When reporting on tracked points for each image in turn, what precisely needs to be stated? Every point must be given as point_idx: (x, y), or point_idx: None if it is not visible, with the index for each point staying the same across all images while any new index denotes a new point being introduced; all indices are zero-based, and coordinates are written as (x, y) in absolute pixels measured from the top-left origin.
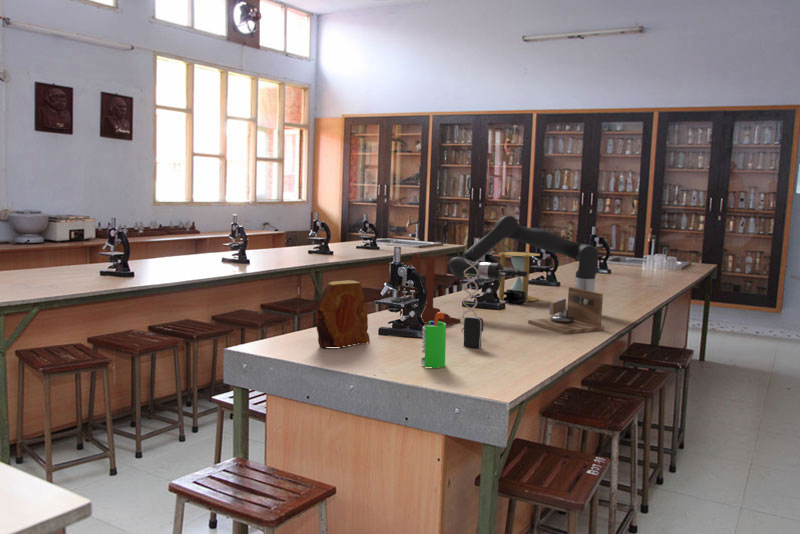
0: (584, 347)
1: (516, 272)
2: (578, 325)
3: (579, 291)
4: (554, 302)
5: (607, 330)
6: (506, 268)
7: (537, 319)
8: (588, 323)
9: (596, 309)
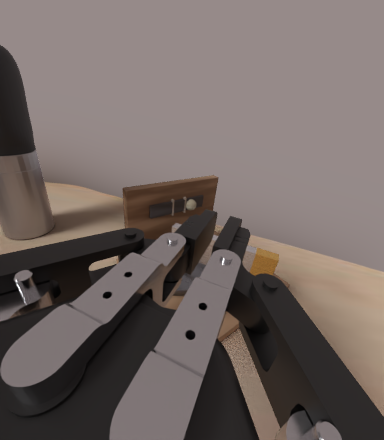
0: (379, 276)
1: (242, 267)
2: None
3: (165, 189)
4: (262, 250)
5: None
6: (165, 358)
7: None
8: None
9: (207, 208)
